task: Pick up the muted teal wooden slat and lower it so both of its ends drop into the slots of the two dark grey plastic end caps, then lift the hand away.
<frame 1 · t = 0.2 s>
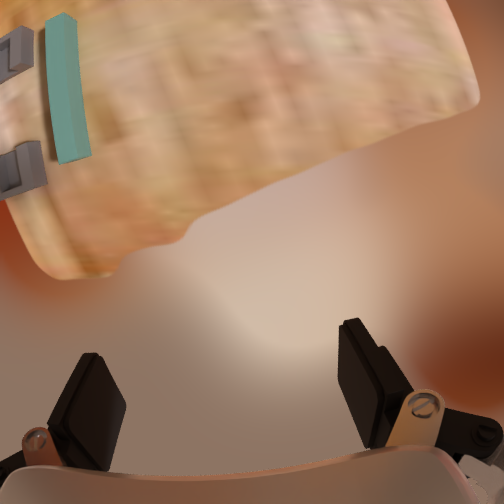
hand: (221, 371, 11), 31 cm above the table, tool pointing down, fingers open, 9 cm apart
end caps: (14, 112, 32), on the table
slat: (72, 87, 33), on the table
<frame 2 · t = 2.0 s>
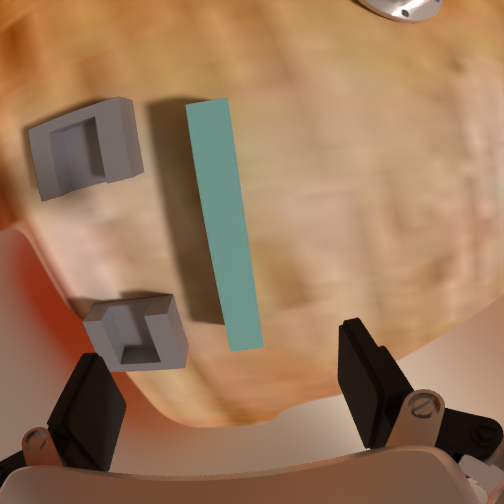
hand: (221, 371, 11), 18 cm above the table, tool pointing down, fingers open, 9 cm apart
end caps: (114, 244, 28), on the table
slat: (228, 224, 28), on the table
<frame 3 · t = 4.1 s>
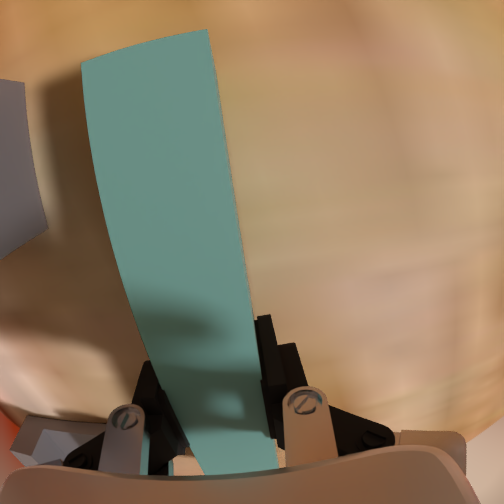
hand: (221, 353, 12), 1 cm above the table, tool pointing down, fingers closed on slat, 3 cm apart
end caps: (28, 348, 13), on the table
slat: (221, 337, 13), on the table, touching gripper
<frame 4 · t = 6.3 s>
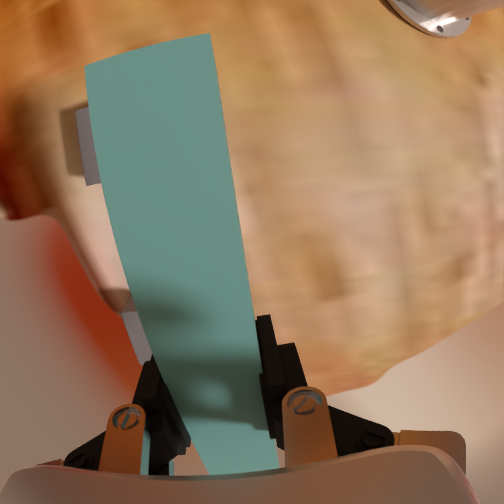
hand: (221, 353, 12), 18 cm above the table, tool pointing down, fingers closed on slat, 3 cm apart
end caps: (158, 233, 28), on the table
slat: (222, 333, 13), point 16 cm above the table, touching gripper
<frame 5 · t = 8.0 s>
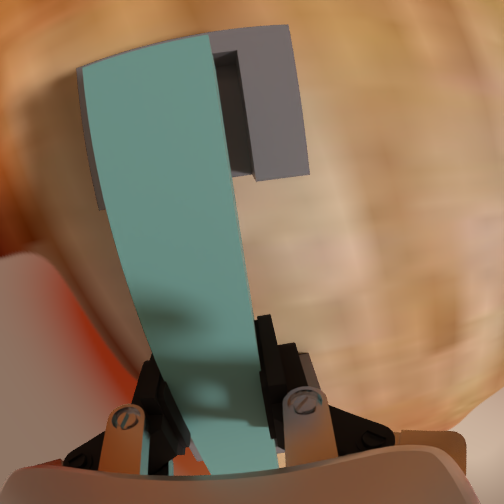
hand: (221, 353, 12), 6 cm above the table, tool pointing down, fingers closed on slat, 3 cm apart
end caps: (225, 284, 18), on the table
slat: (221, 331, 14), point 4 cm above the table, touching gripper
when the fingers open (4 cm above the table, at t = 8.6 s): slat drops 1 cm, resting on end caps.
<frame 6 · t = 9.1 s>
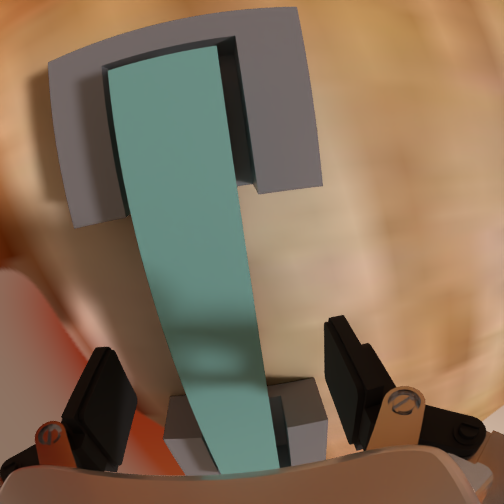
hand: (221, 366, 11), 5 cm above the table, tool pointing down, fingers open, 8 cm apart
end caps: (222, 307, 16), on the table
slat: (223, 316, 15), point 1 cm above the table, touching end caps
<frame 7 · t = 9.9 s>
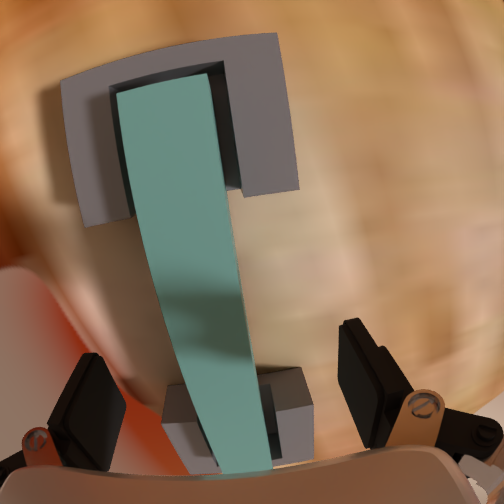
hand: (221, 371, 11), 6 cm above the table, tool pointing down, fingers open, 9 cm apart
end caps: (215, 300, 17), on the table
slat: (216, 307, 16), point 1 cm above the table, touching end caps
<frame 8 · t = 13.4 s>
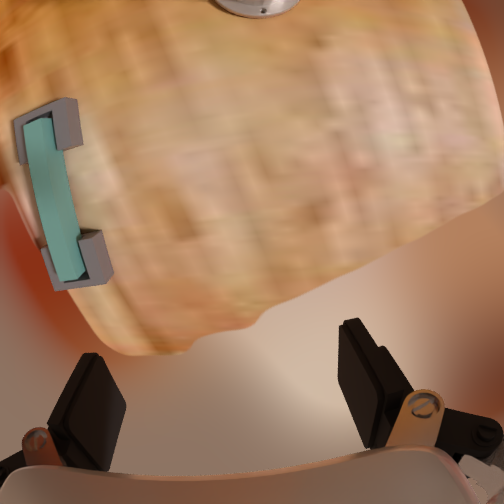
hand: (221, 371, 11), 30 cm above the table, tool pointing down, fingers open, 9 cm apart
end caps: (65, 195, 37), on the table
slat: (62, 195, 36), point 1 cm above the table, touching end caps
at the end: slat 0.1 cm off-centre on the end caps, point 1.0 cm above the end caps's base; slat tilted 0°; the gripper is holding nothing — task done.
